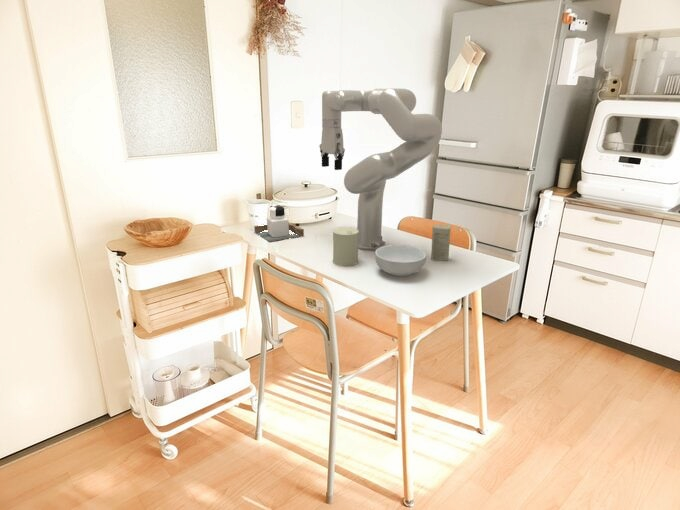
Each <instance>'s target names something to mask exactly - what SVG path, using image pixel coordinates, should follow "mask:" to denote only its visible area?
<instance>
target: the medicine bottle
mask: <svg viewBox="0 0 680 510" xmlns="http://www.w3.org/2000/svg"><path fill="white" fill-rule="evenodd" d="M285 213H286V212H285V208H284V206H282V205H275V206H271V207H269V217H266V224H267V230H268V234H269V235H271V236H272V237H273V238H275V237H282V236H288V235H289V226H288V222H289V219H288V218H286V217H285Z"/></svg>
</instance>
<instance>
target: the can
mask: <svg viewBox="0 0 680 510" xmlns="http://www.w3.org/2000/svg"><path fill="white" fill-rule="evenodd" d="M332 233H333V234H332V237H333V238H332V240H333V243H332V246H333V247H332V249H333V251H332V252H333V253H332V262H333V264H334V263H335V265H337V266H340V265H341V266H342V267H350V266H354V265H356V264H358V263H359V248H358V234H359V231H358V230H357V228H355V227H349V226H348V227H347V226H345V227H344V226H341V227H337V228H334V229H333V230H332Z"/></svg>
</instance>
